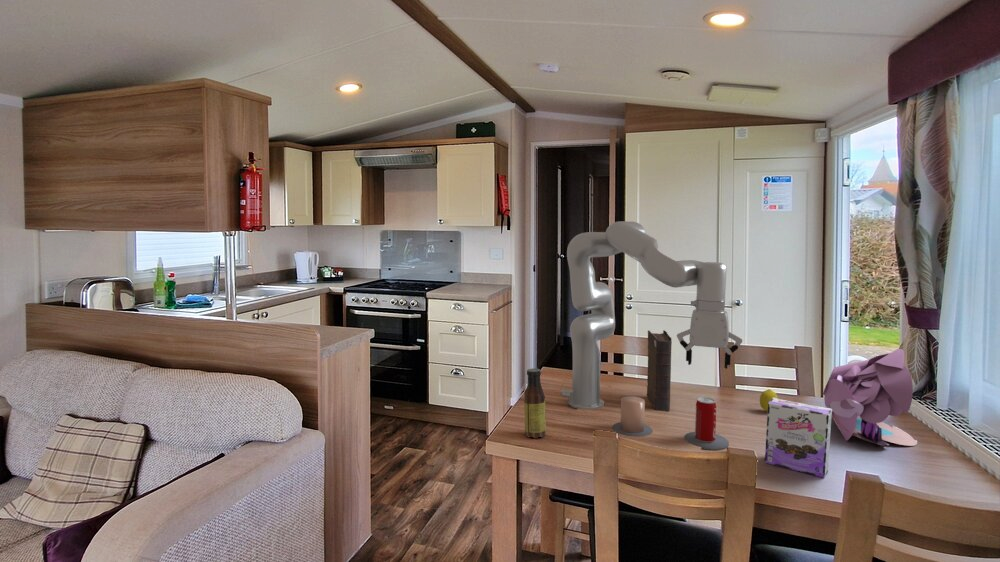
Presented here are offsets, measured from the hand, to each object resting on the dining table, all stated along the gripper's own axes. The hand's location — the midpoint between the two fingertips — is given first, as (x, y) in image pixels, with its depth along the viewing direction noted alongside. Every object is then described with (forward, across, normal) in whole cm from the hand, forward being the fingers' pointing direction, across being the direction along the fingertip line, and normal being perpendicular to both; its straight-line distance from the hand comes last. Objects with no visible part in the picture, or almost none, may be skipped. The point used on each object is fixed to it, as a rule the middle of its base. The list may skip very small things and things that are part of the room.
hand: (707, 365), depth 151 cm
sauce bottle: (+23, -46, -16) cm, 54 cm away
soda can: (+22, 0, 0) cm, 22 cm away
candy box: (+22, +22, -8) cm, 33 cm away
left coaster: (+22, -20, 0) cm, 30 cm away
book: (+23, -17, +28) cm, 39 cm away
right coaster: (+22, 0, 0) cm, 22 cm away
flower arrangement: (+22, +46, +26) cm, 58 cm away
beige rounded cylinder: (+22, -20, 0) cm, 30 cm away
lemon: (+22, +18, +34) cm, 45 cm away
